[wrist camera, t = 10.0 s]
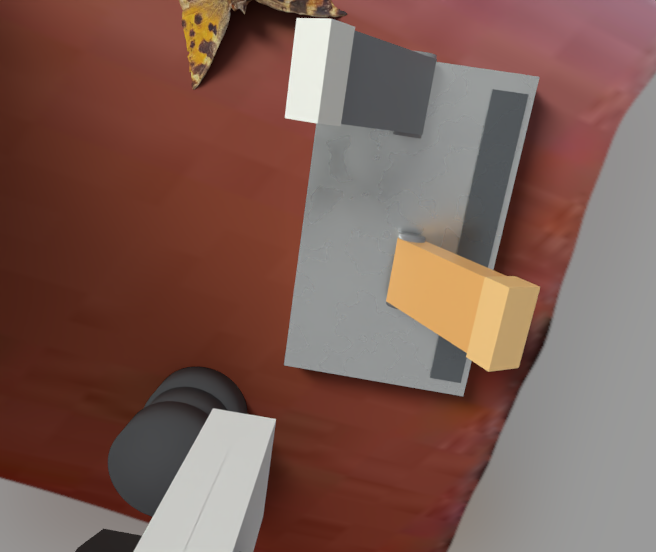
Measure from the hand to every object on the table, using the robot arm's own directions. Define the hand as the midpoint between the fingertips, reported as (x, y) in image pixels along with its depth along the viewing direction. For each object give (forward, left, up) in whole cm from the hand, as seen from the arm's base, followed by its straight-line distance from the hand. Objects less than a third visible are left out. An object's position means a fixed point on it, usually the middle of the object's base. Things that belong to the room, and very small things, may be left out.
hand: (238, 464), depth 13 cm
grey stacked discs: (-8, -14, -25) cm, 30 cm away
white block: (+4, +10, -22) cm, 25 cm away
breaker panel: (+4, +2, -25) cm, 25 cm away
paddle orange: (+4, 0, -22) cm, 23 cm away
